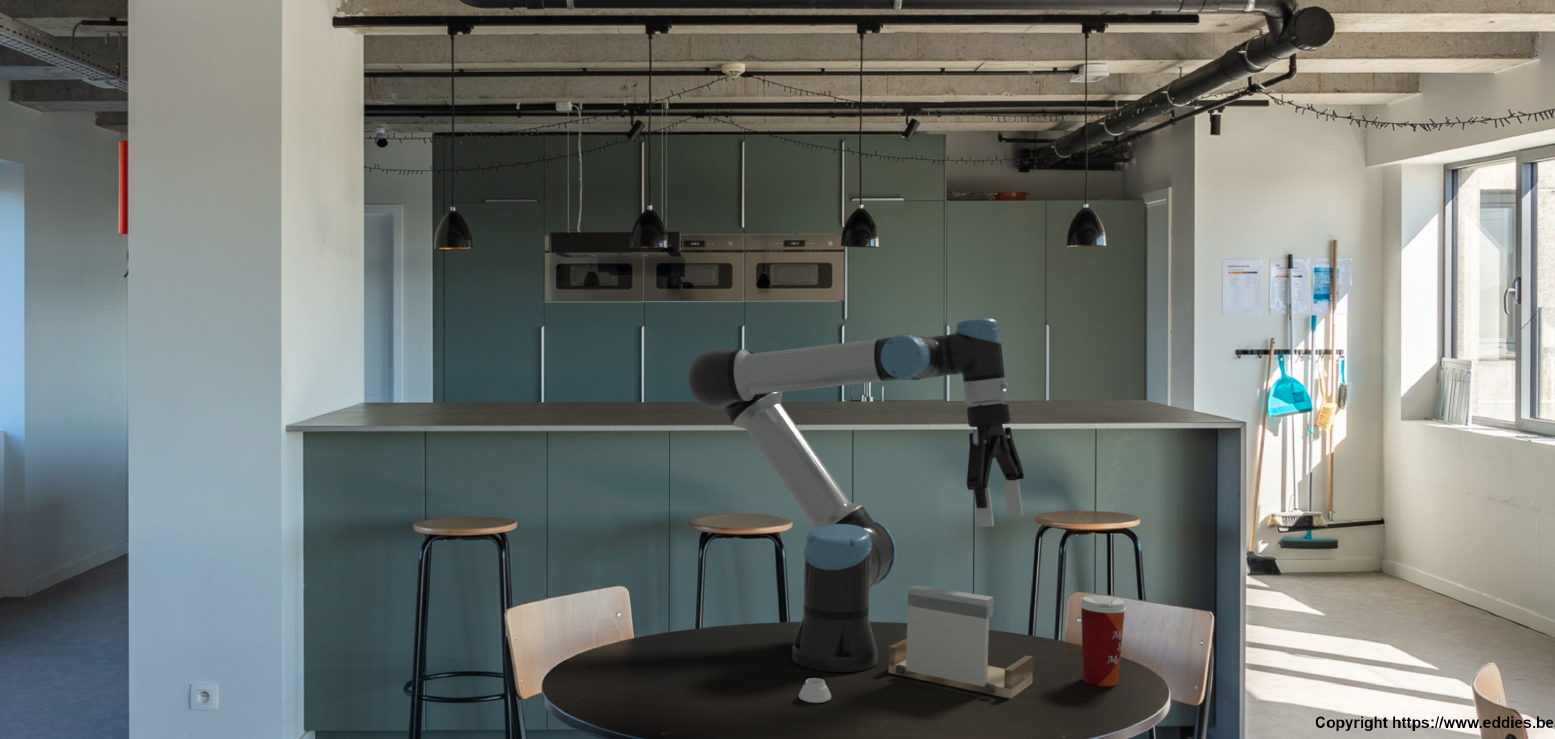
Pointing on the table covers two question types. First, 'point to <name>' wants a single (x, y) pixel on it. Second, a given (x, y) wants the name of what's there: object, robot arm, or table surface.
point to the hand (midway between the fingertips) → (1001, 520)
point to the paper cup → (1102, 639)
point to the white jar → (815, 691)
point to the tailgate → (948, 634)
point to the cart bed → (997, 684)
